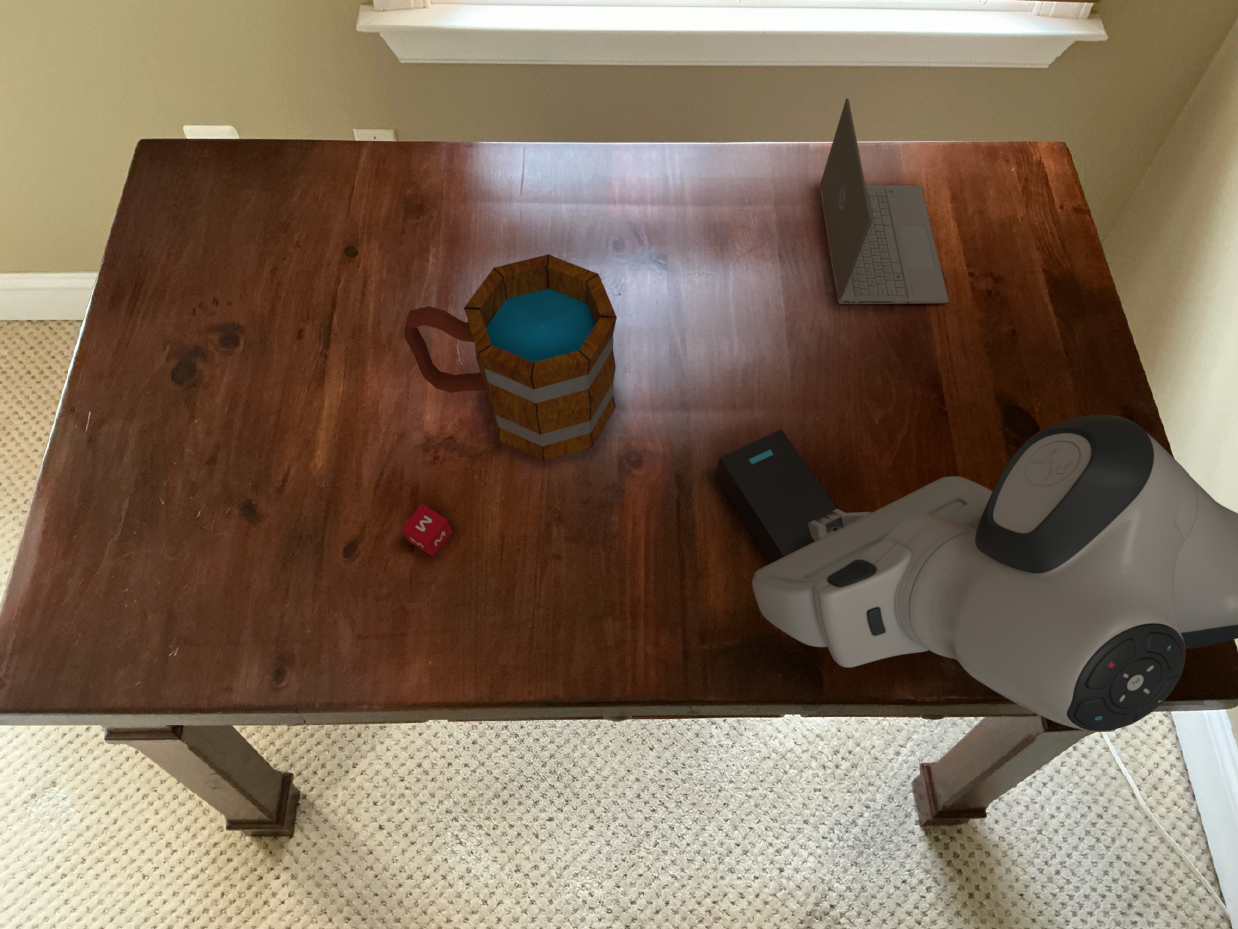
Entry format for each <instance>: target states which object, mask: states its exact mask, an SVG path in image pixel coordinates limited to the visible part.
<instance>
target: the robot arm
mask: <svg viewBox="0 0 1238 929" xmlns="http://www.w3.org/2000/svg"><path fill="white" fill-rule="evenodd" d="M808 526H809V530H810V533H811V536H812V538H813V539H814V540H815V542H813V543H811V544H809V545H807V546H805V547H803V548H801V549H799V550H797V551H795V552H793V553H791V554H789V555H787V556H785V557H783V558H781V559H779V560H777V561H775V562H773V563H771V564H770V563H769V564H767V565H765V566H762V567H760V568H759V569H756V571H754V573H753V575H752V579H751V585H752V587H751V588H752V591H753V595H754V598H755V601H756V604H757V607H758V609H759V611H760V612H761V615H762V616H763V617H764V618H765V619H766V621H768V622H769V623H770V624H772V625H773V626H774V627H776V628H777V629H779V630H781V631H782V632H783V633H786V635H788V636H789V637H791V638H793V639H795V640H796V641H798V642H800V643H802V644H804V645H807V646H810V647H815V648H827V649H828V651H829V653H830V656H831V658H832V659H833V661H834V662H835V663H837V665H839V666H840V667H843V668H855V667H858V666H859V667H860V666H862V665H866V664H869V663H872V662H877V661H879V660H883V659H889V658H892V657H896V656H901V655H908V654H917V653H924V652H928V651H930V652H931V653H934V654H935V655H939V656H940V657H943V658H948V659H953V660H956V661H957V662H958V663H959V664H960V666H961V667H962V668H963V670H964V671H966V672H967V673H968V674H969V676H971V677H972V678H973V679H975V680H976V681H977V682H979V683H981V684H983V685H984V686H985V687H987V688H989V689H990V690H992V691H994V692H995V693H997V694H999V695H1001V696H1003V697H1004V698H1005V699H1007V700H1009V701H1011V702H1013V703H1015V704H1016V705H1019V706H1020V707H1022V708H1024V709H1025V710H1028V711H1030V712H1032V713H1035V714H1036V715H1039V716H1041V717H1043V718H1045V719H1047V720H1049V721H1052V722H1053V723H1056V724H1060V725H1063V726H1065V727H1070V728H1073V729H1077V730H1082V731H1090V732H1105V731H1107V732H1108V731H1113V730H1118V729H1121V728H1125V727H1128V726H1131V725H1132V724H1136V723H1137V722H1139V721H1140V720H1143V719H1144V718H1146V717H1147V716H1149V715H1150V714H1151V713H1153V712H1154V711H1155V710H1156V709H1157V708H1158V707H1160V706H1161V705H1162V703H1163V702H1164V701H1166V699H1167V698H1168V697H1169V696H1170V695H1171V693H1172V692H1173V690H1174V689H1175V687H1176V686H1177V685H1178V682H1179V680H1180V678H1181V676H1182V674H1183V671H1184V668H1185V664H1186V658H1187V657H1186V654H1187V651H1186V650H1188V649H1198V648H1204V647H1209V646H1214V645H1218V644H1221V643H1225V642H1229V641H1233V640H1237V639H1238V512H1236V511H1234V510H1232V509H1230V508H1228V507H1226V506H1225V505H1223V504H1222V503H1219V502H1218V501H1217V500H1215V499H1214V497H1212V495H1210V494H1209V492H1207V491H1206V490H1205V489H1204V487H1202V486H1201V485H1200V484H1199V482H1197V481H1196V480H1195V479H1194V478H1193V477H1192V476H1191V475H1190V474H1189V472H1188V471H1187V470H1186V468H1184V467H1183V465H1181V464H1180V462H1178V461H1177V460H1176V458H1174V456H1172V455H1171V454H1170V453H1169V452H1168V451H1167V450H1166V449H1165V448H1164V447H1163V446H1162V445H1161V444H1160V443H1159V442H1158V441H1157V440H1156V439H1155V438H1153V436H1152V435H1150V434H1149V433H1148V432H1146V430H1145V429H1144V428H1143V427H1142V426H1140V425H1139V424H1138V423H1136V422H1134V421H1133V420H1131V419H1128V418H1126V417H1123V416H1120V415H1113V414H1088V415H1080V416H1076V417H1071V418H1067V419H1064V420H1061V421H1058V422H1056V423H1054V424H1051V425H1049V426H1047V427H1045V428H1043V429H1042V430H1039V431H1038V432H1036V433H1035V434H1033V435H1032V436H1031V437H1029V438H1028V439H1027V440H1025V442H1023V443H1022V445H1021V446H1019V447H1018V449H1017V450H1016V451H1015V452H1014V454H1013V455H1012V456H1011V458H1010V459H1009V461H1008V462H1007V464H1006V465H1005V467H1004V469H1003V470H1002V471H1001V474H1000V475H999V476H998V479H997V481H996V482H995V486H994V488H993V489H992V490H991V489H989V488H987V487H985V486H983V485H982V484H979V483H977V482H975V481H973V480H971V479H968V478H966V477H963V476H958V475H957V476H956V475H953V476H943V477H940V478H938V479H936V480H935V481H932V482H931V483H928V484H926V485H924V486H923V487H920V488H918V489H917V490H915V491H912V492H911V493H908V494H907V495H904V496H903V497H900V498H899V499H897V500H894V501H893V502H891V503H889V504H886V505H885V506H882V507H880V508H879V509H876V510H874V511H859V512H858V511H857V512H845V511H842V510H841V509H839V508H837V509H835V510H834V511H832V512H830V513H828V514H826V515H824V516H822V517H820V518H818V519H816V520H813V521H811V522H809V523H808Z"/></svg>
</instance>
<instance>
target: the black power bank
mask: <svg viewBox="0 0 1238 929" xmlns="http://www.w3.org/2000/svg"><path fill="white" fill-rule="evenodd" d="M714 478H715V479H716V480H717V482H718V484H719V485H720V487H721V488H722V490H723V491H724V493H725V495H726V496H727V498H728V499H729V501H730V503H731V504H732V506H733V507H734V509H735V510H736V512H737V513H738V515H739V516H740V518H741V520H742V521H743V523H744V524H745V526H746V527H747V530H748V531H749V532H750V533H751V536H752V537H753V539H754V541H756V543H757V545H758V546H759V548H760V549H761V552H762V553H763V554H764V556H765V557H766V559H767V560H768V562H769V564H771V563H773V562H775V561H777V560H779V559H781V558H783V557H785V556H787V555H789V554H791V553H793V552H795V551H797V550H799V549H801V548H803V547H805V546H807V545H809V544H811V543H813V542H815V540H814V539H813V538H812V536H811V533H810V530H809V526H808V523H809V522H811V521H813V520H816V519H818V518H820V517H822V516H824V515H826V514H828V513H830V512H832V511H834V510H835V509H838V507H837V506H836V505H835V503H834V502H833V500H832V499H831V498H830V496H829V495H828V493H827V492H826V491H825V489H824V488H823V486H822V485H821V483H820V482H819V480H818V479H817V477H816V476H815V475H814V473H813V472H812V470H811V469H810V467H809V466H808V465H807V463H806V462H805V460H804V458H802V456H801V455H800V453H799V452H798V451H797V449H796V447H795V446H794V445H793V443H792V441H790V439H789V437H788V436H787V435H786V433H785V432H784V430H783V429H782V428H781V429H779V430H777V431H774V432H772V433H769V434H768V435H765V436H763V437H761V438H759V439H757V440H755V441H752V442H750V443H748V444H746V445H744V446H742V447H739V448H738V449H737V448H736V450H734V451H731V452H729V453H727V454H725V455H722V456H720V457H719V460H718V463H717V468H716V471H715V476H714Z"/></svg>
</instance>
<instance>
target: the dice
mask: <svg viewBox="0 0 1238 929" xmlns="http://www.w3.org/2000/svg"><path fill="white" fill-rule="evenodd" d="M401 531H402V533H403V534H404V537H405V538H406V540H407V542H409V543H410V544H412V545H413V546H415V547H417V548H418V549H420V550H422V551H423V552H424V553H426V554H428V555H429V556H431V557H434V556H435V555H436V554H437V553H438V551H439V550H440V549H441V547H442V546H443V545H444V543H445V542H446V541H447V540H448V538H449V537H451V536H450V535H451V534H452V533H453V530H452V527H451V526H450V523H449V521H448V518H446V517H444V516H443V515H441V514H440V513H438V512H437V511H434V510H433V509H432V508H430V507H428V506H426V505H425V504H423V503H421V504H420V505H419V506H418V508H416V510H415V511H414V512H413V513H412V514H411V516H410V517H409V518H408V519H407V520H406V522H405V523H404V524H403V525H402V526H401Z"/></svg>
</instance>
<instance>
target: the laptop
mask: <svg viewBox="0 0 1238 929" xmlns="http://www.w3.org/2000/svg"><path fill="white" fill-rule="evenodd" d="M851 109H852V108H851V103H850V99H849V98H847V97H846V98H845V101H844V103H843V106H842V110H841V114H840V118H839V120H838V124H837V127H836V131H835V133H834V134H835V135H834V137H833V140H832V144H831V147H830V150H829V154H828V157H827V160H826V164H825V166H824V169H823V172H822V176H821V180H820V183H819V184H820V187H819V191H820V196H821V202H822V212H823V217H824V225H825V229H826V230H825V231H826V236H827V243H828V249H829V250H828V251H829V255H830V262H831V268H832V274H833V282H834V284H835V285H834V286H835V290H836V299H837V303H838V304H841V305H905V304H906V305H907V304H914V305H915V304H917V305H918V304H948V303H949V302H950V301H949V297H948V293H947V288H946V284H945V280H944V276H943V271H942V268H941V263H940V258H939V255H938V250H937V246H936V242H935V238H934V234H933V229H932V225H931V221H930V220H931V219H930V216H929V213H928V209H927V204H926V200H925V196H924V191H923V188H922V186H921V185H919V184H866V182H865V181H866V180H865V176H864V170H863V166H862V161H861V160H862V159H861V156H860V151H859V145H858V139H857V135H856V130H855V125H854V124H855V123H854V119H853V115H852V114H853V113H852V110H851Z"/></svg>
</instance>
